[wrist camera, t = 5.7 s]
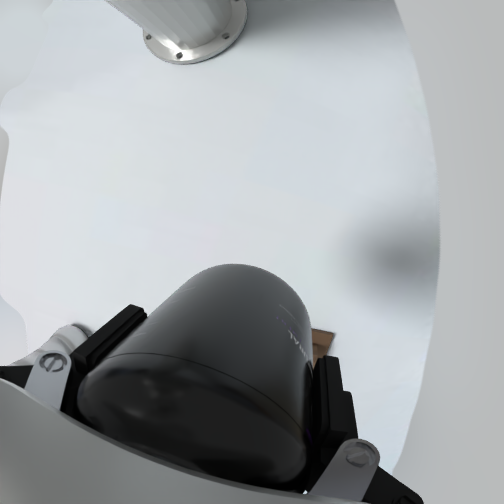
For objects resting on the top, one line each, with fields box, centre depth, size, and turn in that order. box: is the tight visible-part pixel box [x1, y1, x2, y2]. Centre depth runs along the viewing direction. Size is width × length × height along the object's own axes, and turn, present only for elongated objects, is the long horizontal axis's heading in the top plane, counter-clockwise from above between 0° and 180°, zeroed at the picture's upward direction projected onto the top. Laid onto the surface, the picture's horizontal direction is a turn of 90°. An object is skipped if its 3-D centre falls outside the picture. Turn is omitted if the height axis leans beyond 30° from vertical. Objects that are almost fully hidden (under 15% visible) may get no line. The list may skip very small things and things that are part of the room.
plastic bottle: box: [8, 325, 88, 366], centre depth 31 cm, size 6×7×20 cm
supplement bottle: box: [72, 264, 313, 494], centre depth 8 cm, size 7×7×12 cm
